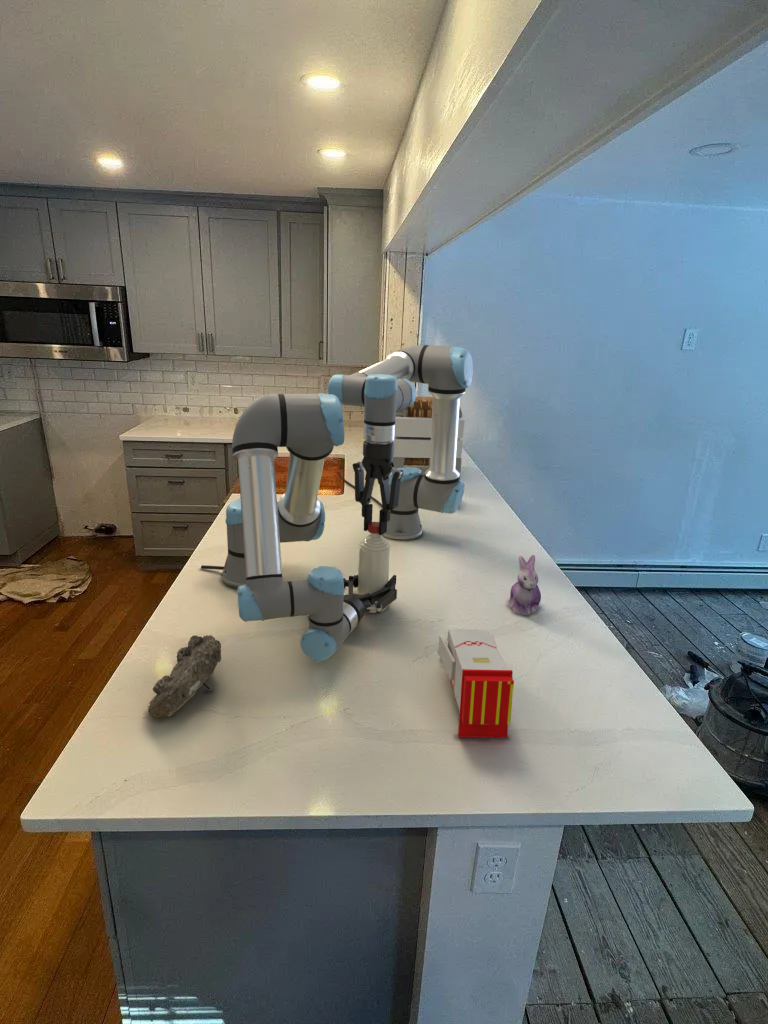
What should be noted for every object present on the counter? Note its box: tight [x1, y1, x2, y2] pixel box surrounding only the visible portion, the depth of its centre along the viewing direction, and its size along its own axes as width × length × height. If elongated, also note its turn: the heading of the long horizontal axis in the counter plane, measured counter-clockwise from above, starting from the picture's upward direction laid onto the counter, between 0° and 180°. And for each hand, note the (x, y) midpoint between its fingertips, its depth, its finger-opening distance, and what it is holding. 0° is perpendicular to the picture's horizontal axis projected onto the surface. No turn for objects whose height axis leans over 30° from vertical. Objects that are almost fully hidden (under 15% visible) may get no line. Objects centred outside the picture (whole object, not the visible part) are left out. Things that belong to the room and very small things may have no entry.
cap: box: [368, 521, 379, 534], centre depth 144 cm, size 4×4×2 cm
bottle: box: [356, 532, 391, 614], centre depth 147 cm, size 8×8×22 cm
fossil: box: [147, 634, 222, 719], centre depth 114 cm, size 22×10×15 cm
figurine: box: [508, 554, 542, 616], centre depth 151 cm, size 9×10×15 cm
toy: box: [437, 628, 515, 738], centre depth 117 cm, size 12×13×30 cm
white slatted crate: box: [392, 395, 465, 480], centre depth 268 cm, size 34×33×41 cm
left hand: (379, 576), depth 153 cm, fingers closed on bottle, 8 cm apart
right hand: (375, 531), depth 144 cm, fingers closed on cap, 4 cm apart
